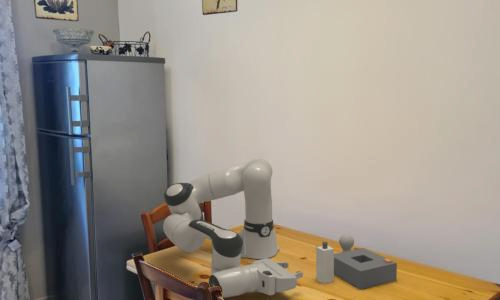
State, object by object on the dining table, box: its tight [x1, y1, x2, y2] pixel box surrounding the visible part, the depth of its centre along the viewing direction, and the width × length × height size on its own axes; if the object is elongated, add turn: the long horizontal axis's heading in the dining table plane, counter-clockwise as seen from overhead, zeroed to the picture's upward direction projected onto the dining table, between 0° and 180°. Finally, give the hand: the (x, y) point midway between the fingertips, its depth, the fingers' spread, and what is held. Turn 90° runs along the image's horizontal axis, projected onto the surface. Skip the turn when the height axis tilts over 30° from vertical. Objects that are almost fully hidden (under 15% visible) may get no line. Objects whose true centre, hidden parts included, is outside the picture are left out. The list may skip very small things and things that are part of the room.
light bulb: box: [338, 233, 355, 252], centre depth 186 cm, size 6×6×10 cm
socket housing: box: [334, 247, 398, 290], centre depth 168 cm, size 18×16×7 cm
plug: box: [315, 241, 335, 285], centre depth 165 cm, size 4×4×14 cm
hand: (294, 269), depth 159 cm, fingers open, 8 cm apart
